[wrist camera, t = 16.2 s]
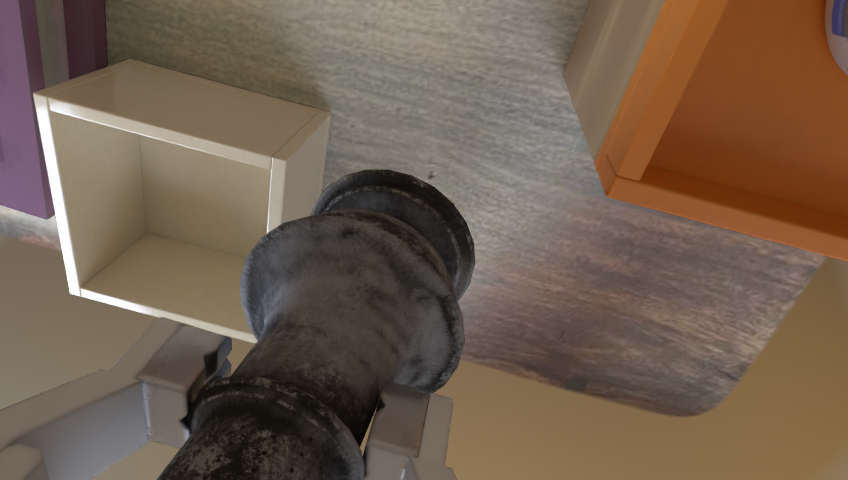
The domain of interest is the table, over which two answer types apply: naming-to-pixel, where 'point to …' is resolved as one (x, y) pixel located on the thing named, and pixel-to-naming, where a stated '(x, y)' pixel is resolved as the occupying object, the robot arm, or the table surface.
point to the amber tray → (737, 123)
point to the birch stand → (607, 61)
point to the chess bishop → (334, 331)
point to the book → (39, 85)
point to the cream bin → (173, 186)
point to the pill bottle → (837, 31)
